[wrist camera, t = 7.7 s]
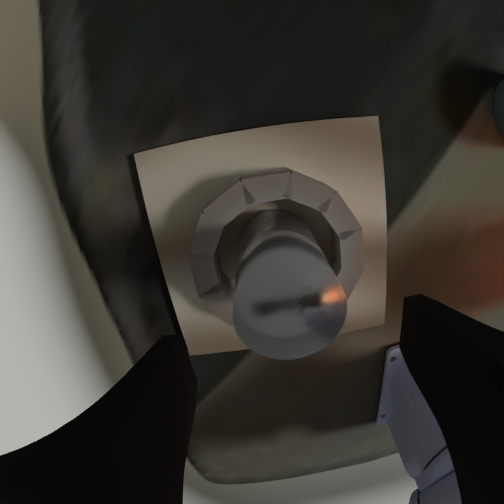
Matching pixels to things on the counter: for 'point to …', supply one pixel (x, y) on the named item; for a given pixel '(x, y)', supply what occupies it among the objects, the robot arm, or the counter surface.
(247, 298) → the steel pin
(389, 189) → the counter surface
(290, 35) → the counter surface
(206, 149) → the board
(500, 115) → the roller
